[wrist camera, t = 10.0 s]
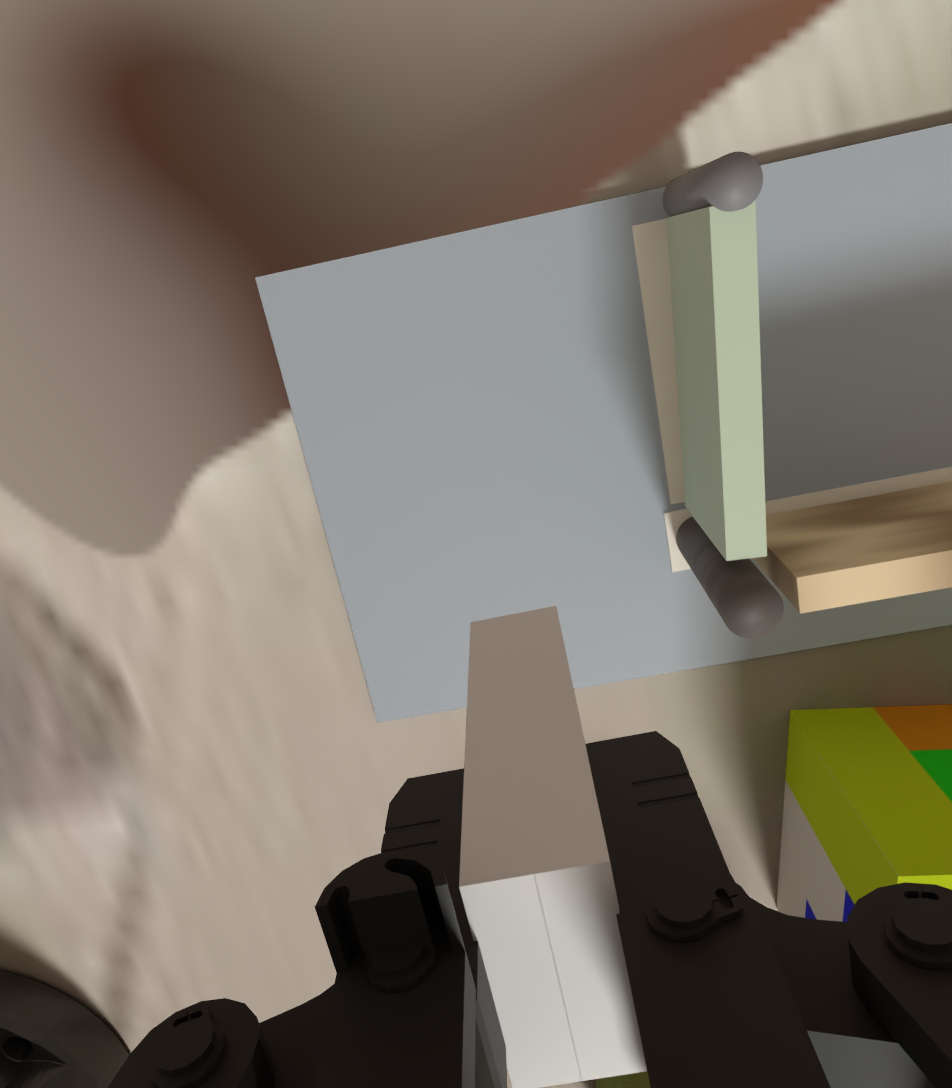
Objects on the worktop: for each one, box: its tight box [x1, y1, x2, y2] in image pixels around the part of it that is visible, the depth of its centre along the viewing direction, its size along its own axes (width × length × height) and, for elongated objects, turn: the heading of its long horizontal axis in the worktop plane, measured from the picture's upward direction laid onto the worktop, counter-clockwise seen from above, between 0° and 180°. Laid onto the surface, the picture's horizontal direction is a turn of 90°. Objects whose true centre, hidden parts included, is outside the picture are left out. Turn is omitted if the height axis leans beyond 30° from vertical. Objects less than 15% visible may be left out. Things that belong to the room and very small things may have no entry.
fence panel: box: [663, 152, 767, 561], centre depth 26 cm, size 11×1×6 cm, turn 8°
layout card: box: [255, 123, 952, 722], centre depth 31 cm, size 28×18×1 cm, turn 102°
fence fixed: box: [676, 481, 952, 638], centre depth 28 cm, size 15×2×8 cm, turn 102°
